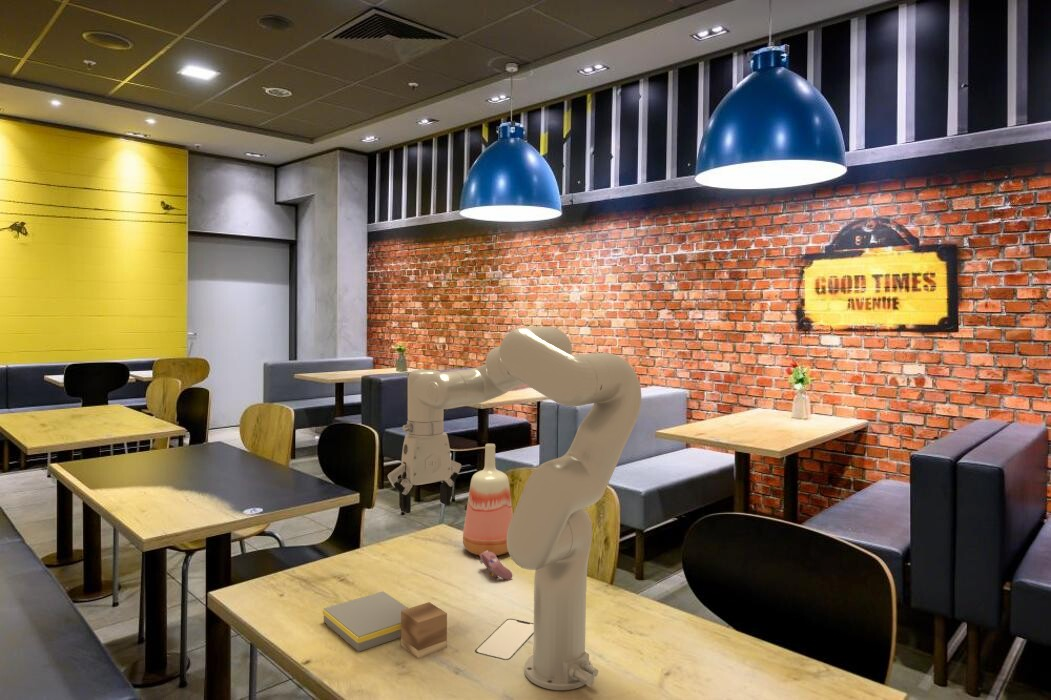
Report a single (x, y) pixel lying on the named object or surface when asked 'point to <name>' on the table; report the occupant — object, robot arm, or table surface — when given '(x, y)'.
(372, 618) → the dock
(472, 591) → the table surface
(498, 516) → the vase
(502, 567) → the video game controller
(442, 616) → the brown wooden block
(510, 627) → the smartphone
